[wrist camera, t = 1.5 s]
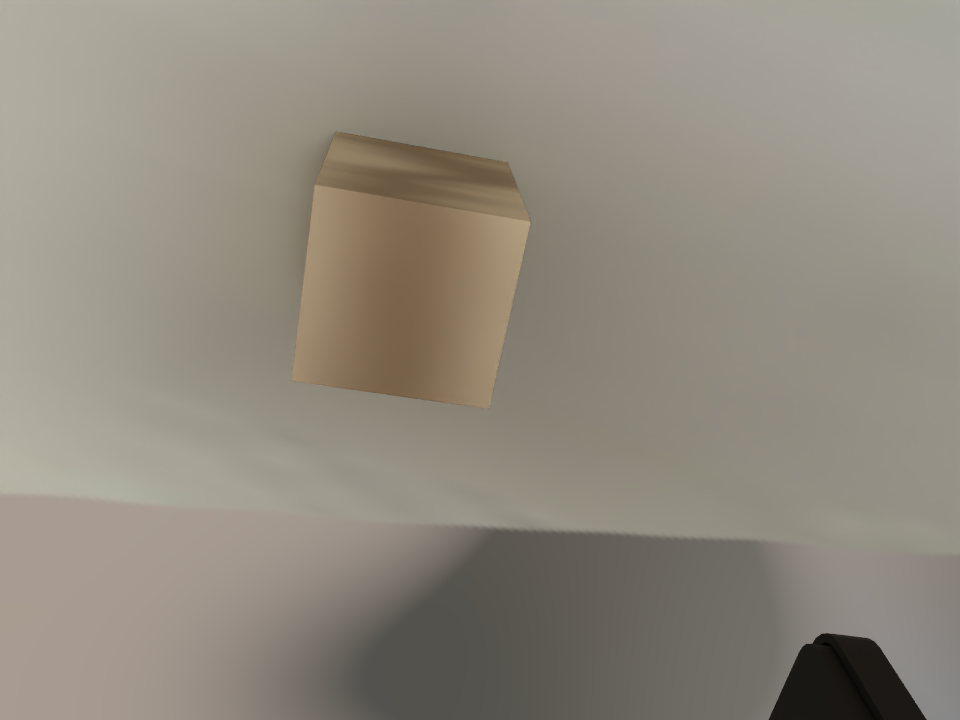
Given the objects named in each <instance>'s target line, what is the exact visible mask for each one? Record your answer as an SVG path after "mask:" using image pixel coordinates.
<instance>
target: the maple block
mask: <svg viewBox="0 0 960 720" xmlns="http://www.w3.org/2000/svg"><path fill="white" fill-rule="evenodd" d="M530 223H531V221H530V218H529V216H528V213H527V211H526V208H525V206H524V203H523V201H522V198H521V195H520V193H519V190H518V188H517V185H516V183H515V180H514V178H513V175H512V173H511V170H510V167H509V165H508V162H502V161H496V160H491V159H485V158H480V157H474V156H469V155H463V154H458V153H452V152H446V151H441V150H435V149H430V148H424V147H419V146H413V145H408V144H402V143H397V142H391V141H385V140H380V139H374V138H369V137H363V136H358V135H352V134H347V133H341V132H336V133H335V135H334V138H333V140H332V143H331V145H330V148H329V150H328V153H327V155H326V158H325V160H324V163H323V165H322V168H321V170H320V173H319V175H318V178H317V180H316V183H315V187H314V195H313V204H312V212H311V220H310V229H309V237H308V246H307V254H306V262H305V271H304V279H303V288H302V296H301V304H300V313H299V321H298V330H297V338H296V346H295V355H294V363H293V372H292V380H291V381H295V382H302V383H310V384H317V385H324V386H331V387H338V388H345V389H352V390H359V391H366V392H373V393H380V394H387V395H395V396H402V397H409V398H416V399H423V400H430V401H437V402H444V403H451V404H458V405H465V406H472V407H480V408H487V409H489V407H490V402H491V398H492V393H493V389H494V384H495V380H496V375H497V371H498V366H499V362H500V357H501V353H502V349H503V344H504V340H505V335H506V331H507V326H508V322H509V317H510V313H511V308H512V304H513V299H514V295H515V290H516V286H517V281H518V277H519V272H520V268H521V264H522V259H523V255H524V250H525V246H526V241H527V237H528V232H529V228H530Z"/></svg>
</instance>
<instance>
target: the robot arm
mask: <svg viewBox="0 0 960 720" xmlns="http://www.w3.org/2000/svg"><path fill="white" fill-rule="evenodd" d="M769 720H926V718H925V717H924V715H923V714H922V712H921V710H920V709H919V708H918V706H917V704H916V703H915V701H914V700H913V698H912V697H911V695H910V693H909V692H908V690H907V689H906V687H905V686H904V684H903V683H902V681H901V680H900V678H899V677H898V675H897V673H896V672H895V670H894V669H893V667H892V666H891V664H890V663H889V661H888V659H887V658H886V656H885V655H884V653H883V652H882V650H881V649H880V647H879V646H878V645H877V644H876V643H875V642H874V641H872V640H871V639H868V638H862V637H853V636H846V635H837V634H828V633H826V634H821V635H820V636H818V637H817V638H816V639H815V640H814V642H813V644H806V645H804V646H803V647H802V649H801V650H800V652H799V654H798V656H797V658H796V660H795V663H794V665H793V667H792V669H791V671H790V674H789V676H788V678H787V680H786V682H785V685H784V687H783V689H782V691H781V694H780V696H779V698H778V700H777V702H776V705H775V707H774V709H773V711H772V714H771V716H770V718H769Z"/></svg>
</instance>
